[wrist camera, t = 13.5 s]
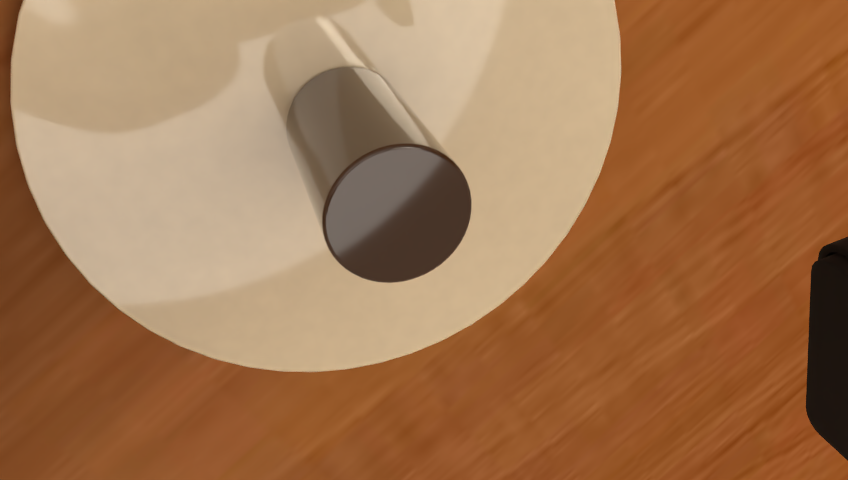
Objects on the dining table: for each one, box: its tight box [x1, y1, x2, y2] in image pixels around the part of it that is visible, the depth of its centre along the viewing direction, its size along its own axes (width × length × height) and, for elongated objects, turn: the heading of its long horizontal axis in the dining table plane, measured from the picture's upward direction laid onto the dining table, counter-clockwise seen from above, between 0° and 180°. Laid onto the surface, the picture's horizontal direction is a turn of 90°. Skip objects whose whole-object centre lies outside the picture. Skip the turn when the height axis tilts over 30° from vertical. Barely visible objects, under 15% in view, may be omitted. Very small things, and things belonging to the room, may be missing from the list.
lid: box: [10, 0, 621, 372], centre depth 18 cm, size 15×15×6 cm
